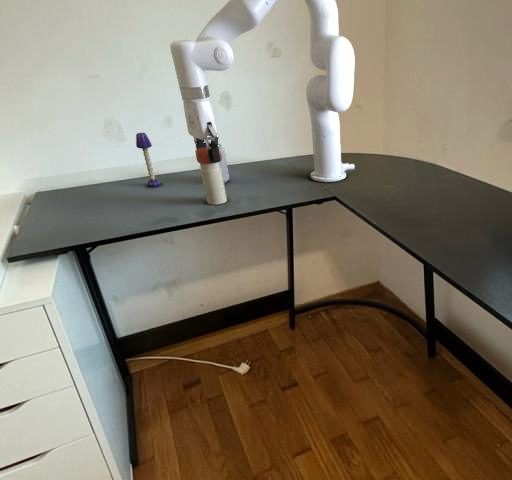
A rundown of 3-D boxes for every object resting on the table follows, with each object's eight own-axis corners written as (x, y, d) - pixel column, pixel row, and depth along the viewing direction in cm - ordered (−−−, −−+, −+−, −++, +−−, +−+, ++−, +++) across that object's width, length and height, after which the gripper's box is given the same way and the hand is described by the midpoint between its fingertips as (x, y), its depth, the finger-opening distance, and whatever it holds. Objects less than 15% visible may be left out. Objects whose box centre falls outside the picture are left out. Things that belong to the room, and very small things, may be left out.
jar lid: (205, 165, 136) (203, 154, 134) (192, 160, 140) (190, 150, 138) (226, 160, 140) (224, 149, 138) (213, 155, 144) (211, 145, 142)
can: (232, 178, 166) (226, 142, 159) (225, 185, 160) (218, 148, 153) (212, 177, 166) (205, 142, 159) (204, 184, 161) (196, 147, 153)
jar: (225, 196, 151) (218, 156, 143) (228, 203, 146) (220, 161, 138) (205, 199, 149) (197, 158, 141) (207, 205, 144) (199, 163, 137)
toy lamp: (164, 183, 162) (150, 131, 152) (159, 187, 158) (145, 135, 148) (150, 183, 162) (135, 131, 152) (145, 187, 158) (130, 135, 148)
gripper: (169, 91, 133) (185, 156, 143) (196, 99, 122) (211, 168, 133) (194, 88, 136) (208, 151, 147) (222, 95, 126) (234, 163, 137)
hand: (209, 159), depth 140 cm, fingers closed on jar lid, 7 cm apart
